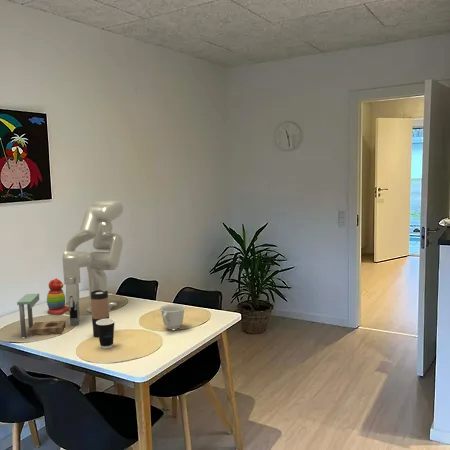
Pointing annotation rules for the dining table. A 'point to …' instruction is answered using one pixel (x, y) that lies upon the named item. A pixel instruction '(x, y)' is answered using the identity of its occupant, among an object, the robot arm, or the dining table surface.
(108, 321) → the dixie cup
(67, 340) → the dining table surface
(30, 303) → the green topped stand
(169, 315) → the teacup
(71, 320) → the peg
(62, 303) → the rainbow stacking rings
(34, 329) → the socket block
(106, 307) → the travel mug
